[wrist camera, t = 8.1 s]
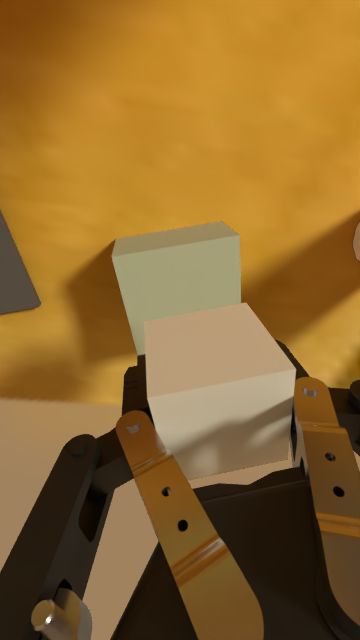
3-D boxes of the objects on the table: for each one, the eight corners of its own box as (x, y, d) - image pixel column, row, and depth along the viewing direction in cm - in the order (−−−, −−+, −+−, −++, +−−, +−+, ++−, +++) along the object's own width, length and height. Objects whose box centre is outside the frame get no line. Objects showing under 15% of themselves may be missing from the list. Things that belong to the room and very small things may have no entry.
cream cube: (144, 321, 13) (147, 398, 9) (246, 302, 14) (296, 369, 9) (161, 396, 16) (171, 484, 12) (247, 379, 16) (287, 459, 12)
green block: (115, 238, 21) (111, 256, 17) (221, 220, 21) (239, 235, 18) (138, 327, 25) (138, 359, 21) (226, 311, 26) (241, 339, 22)
